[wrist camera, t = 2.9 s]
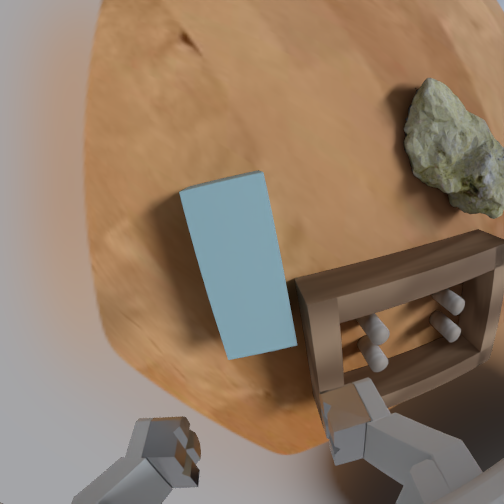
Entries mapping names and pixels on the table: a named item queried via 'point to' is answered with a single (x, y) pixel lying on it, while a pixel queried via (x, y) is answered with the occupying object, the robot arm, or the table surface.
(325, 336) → the frame
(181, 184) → the table surface
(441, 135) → the rock
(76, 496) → the robot arm
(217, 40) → the table surface
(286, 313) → the light blue rectangular block
